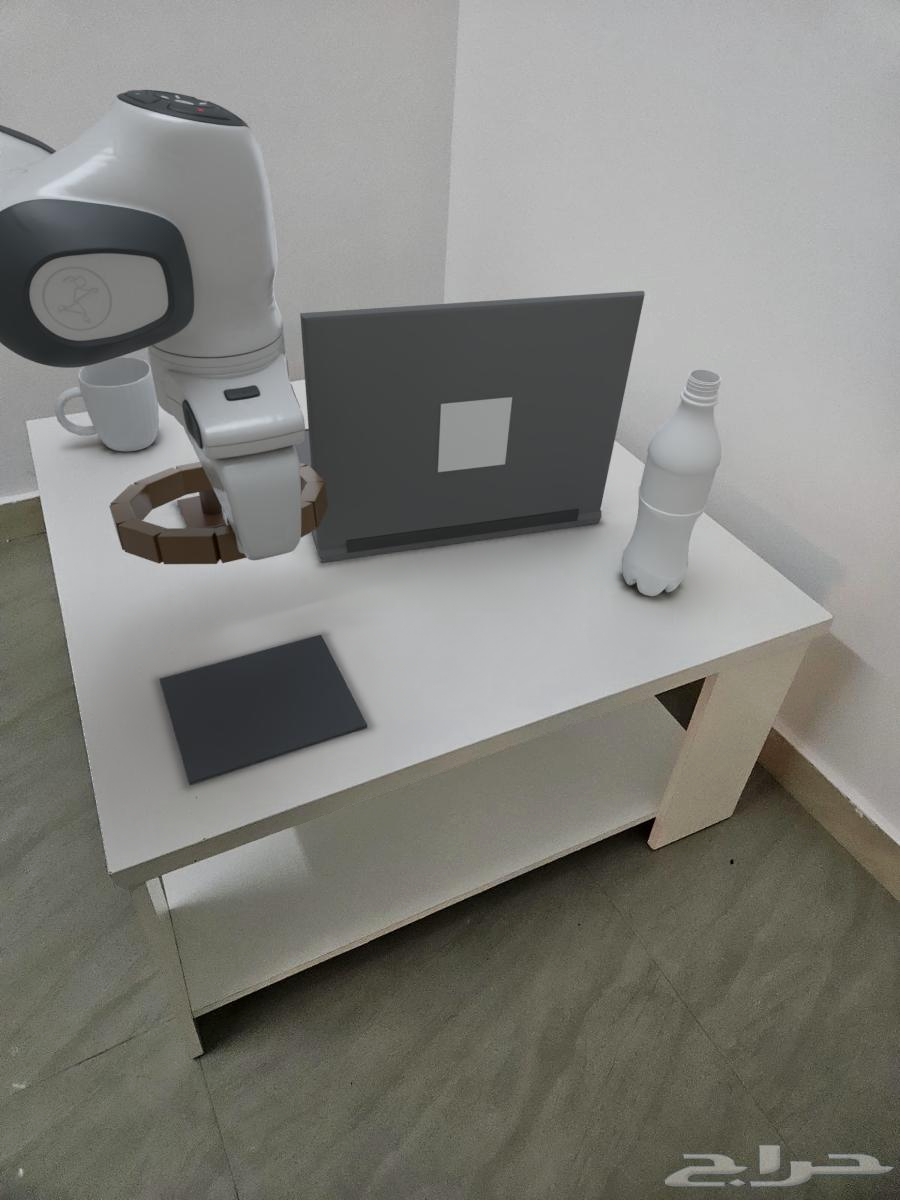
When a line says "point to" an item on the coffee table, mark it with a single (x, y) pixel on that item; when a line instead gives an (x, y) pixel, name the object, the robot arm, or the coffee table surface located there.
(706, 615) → the coffee table surface
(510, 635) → the coffee table surface
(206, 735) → the mat
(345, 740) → the coffee table surface
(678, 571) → the water bottle
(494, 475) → the laptop
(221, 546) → the hoop
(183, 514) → the stand
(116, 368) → the mug
